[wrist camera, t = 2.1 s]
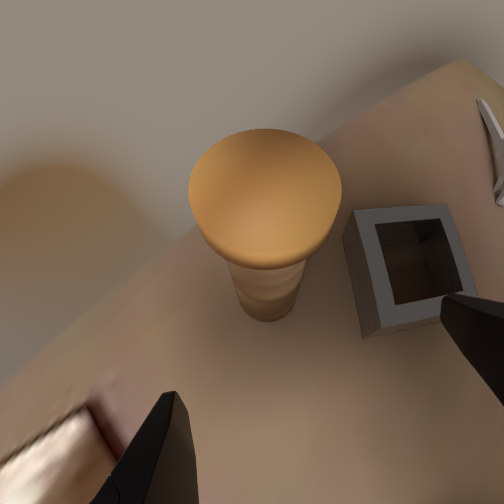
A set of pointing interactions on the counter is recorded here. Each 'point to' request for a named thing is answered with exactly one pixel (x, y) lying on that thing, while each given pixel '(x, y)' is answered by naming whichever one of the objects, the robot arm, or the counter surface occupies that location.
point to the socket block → (375, 273)
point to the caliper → (500, 140)
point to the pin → (265, 212)
